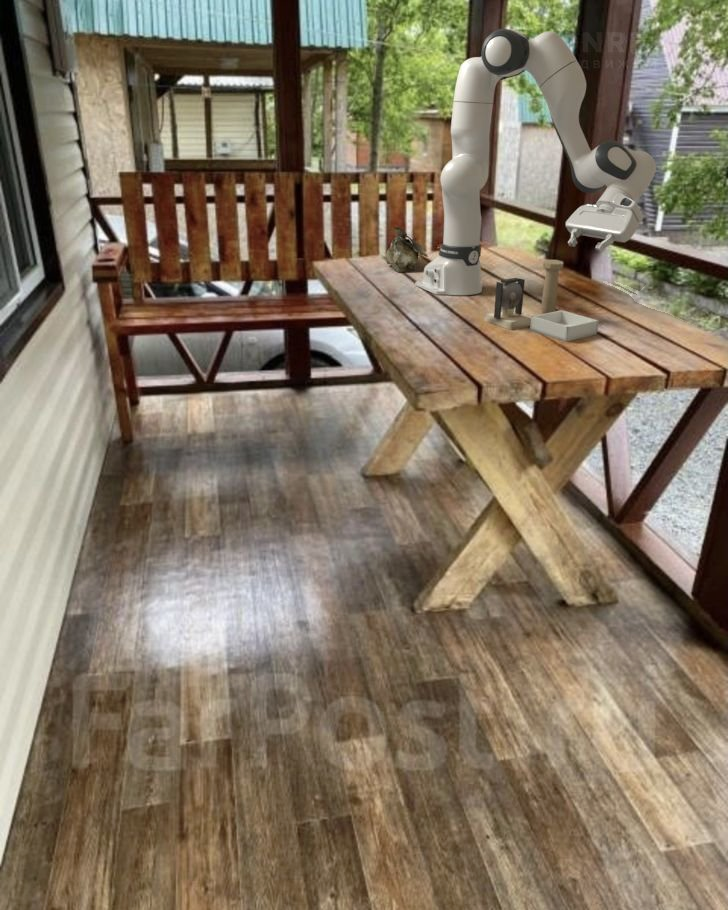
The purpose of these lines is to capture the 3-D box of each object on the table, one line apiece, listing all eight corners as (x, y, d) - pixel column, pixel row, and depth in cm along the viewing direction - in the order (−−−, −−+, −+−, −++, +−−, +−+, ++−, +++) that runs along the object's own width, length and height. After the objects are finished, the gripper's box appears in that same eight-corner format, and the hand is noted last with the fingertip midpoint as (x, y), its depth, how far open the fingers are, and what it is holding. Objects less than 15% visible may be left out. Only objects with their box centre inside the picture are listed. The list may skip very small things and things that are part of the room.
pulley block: (482, 321, 196) (485, 277, 191) (505, 317, 200) (508, 274, 196) (509, 330, 189) (513, 285, 184) (531, 325, 193) (536, 281, 188)
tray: (529, 330, 189) (531, 316, 187) (560, 323, 195) (561, 310, 193) (566, 341, 180) (567, 327, 178) (596, 334, 185) (598, 320, 184)
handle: (541, 321, 197) (548, 264, 190) (535, 315, 202) (541, 259, 196) (559, 321, 197) (566, 264, 191) (552, 314, 203) (558, 259, 196)
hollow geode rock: (401, 271, 279) (374, 241, 275) (426, 247, 275) (399, 216, 271) (401, 285, 253) (371, 252, 249) (429, 259, 249) (399, 225, 245)
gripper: (578, 195, 204) (550, 234, 204) (640, 202, 189) (610, 245, 188) (587, 210, 208) (559, 249, 208) (648, 219, 193) (618, 261, 192)
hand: (584, 247), depth 198 cm, fingers open, 8 cm apart
